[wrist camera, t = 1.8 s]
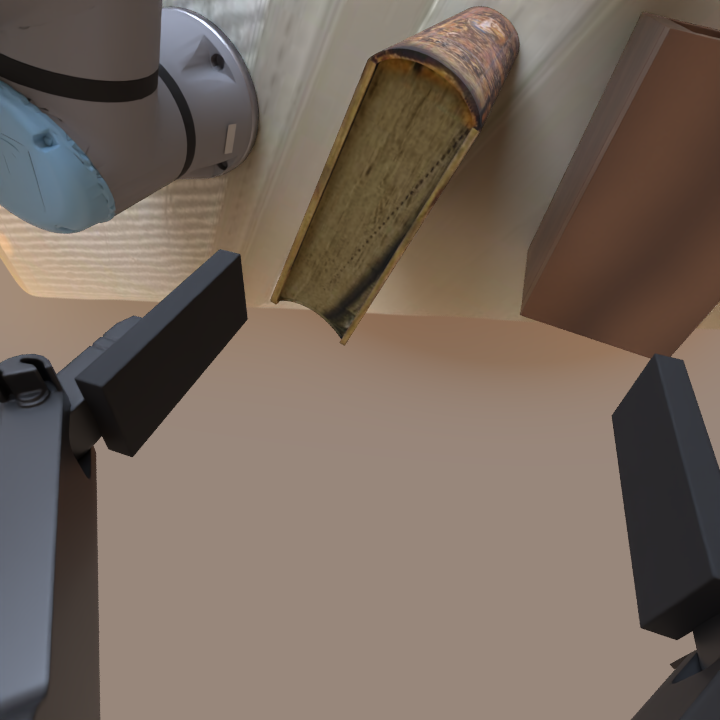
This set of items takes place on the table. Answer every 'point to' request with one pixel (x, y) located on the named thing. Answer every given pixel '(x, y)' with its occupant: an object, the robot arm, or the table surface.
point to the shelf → (639, 201)
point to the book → (394, 161)
